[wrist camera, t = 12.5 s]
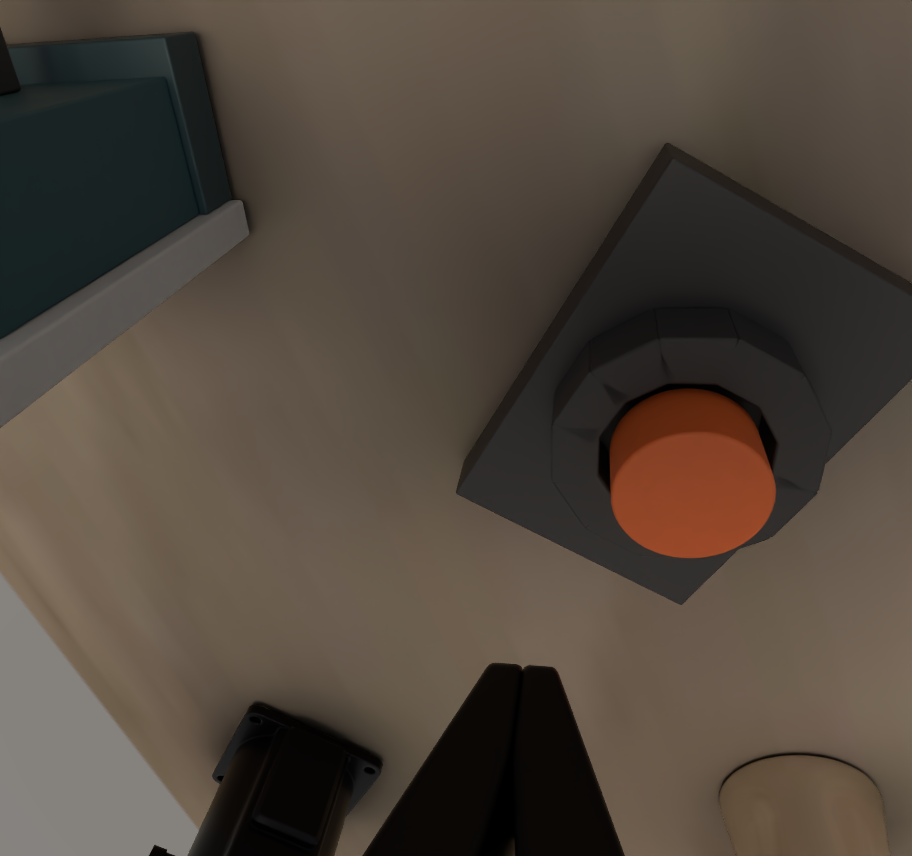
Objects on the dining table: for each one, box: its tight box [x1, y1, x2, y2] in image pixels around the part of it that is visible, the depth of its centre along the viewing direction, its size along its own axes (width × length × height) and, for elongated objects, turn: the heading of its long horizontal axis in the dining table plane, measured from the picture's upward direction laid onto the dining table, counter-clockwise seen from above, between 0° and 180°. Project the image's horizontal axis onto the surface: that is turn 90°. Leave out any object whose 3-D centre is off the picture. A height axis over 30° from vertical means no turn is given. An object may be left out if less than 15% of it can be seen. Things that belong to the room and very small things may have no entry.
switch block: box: [456, 143, 912, 605], centre depth 19 cm, size 11×8×4 cm
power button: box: [609, 388, 776, 558], centre depth 17 cm, size 4×4×2 cm
